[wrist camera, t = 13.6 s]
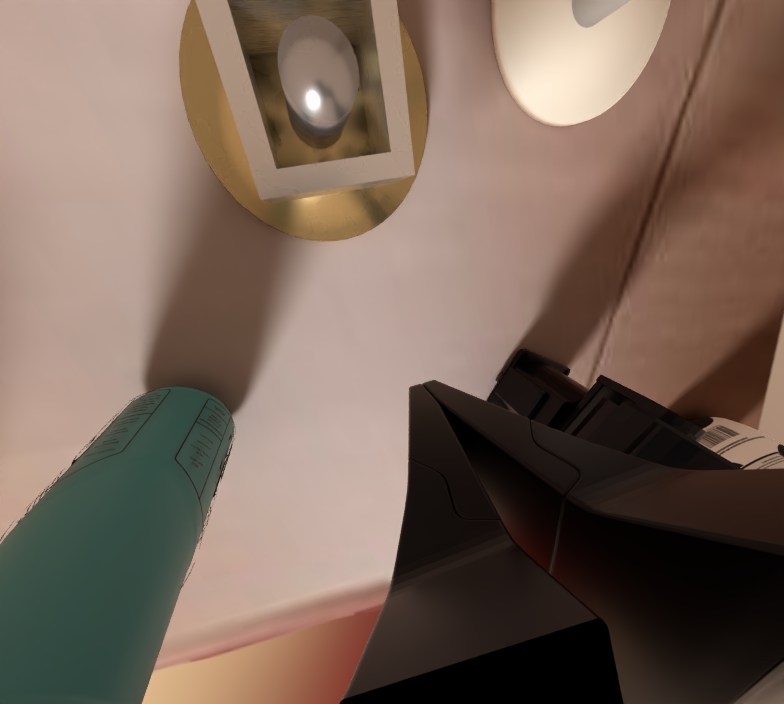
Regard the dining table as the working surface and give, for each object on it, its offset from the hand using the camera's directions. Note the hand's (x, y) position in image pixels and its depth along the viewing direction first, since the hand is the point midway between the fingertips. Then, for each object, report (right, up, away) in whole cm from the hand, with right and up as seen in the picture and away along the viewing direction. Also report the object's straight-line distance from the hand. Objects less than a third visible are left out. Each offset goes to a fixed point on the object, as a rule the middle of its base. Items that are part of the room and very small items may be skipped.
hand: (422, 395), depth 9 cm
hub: (-5, +14, +6) cm, 16 cm away
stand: (+10, +21, +7) cm, 24 cm away
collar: (-5, +13, +6) cm, 15 cm away
